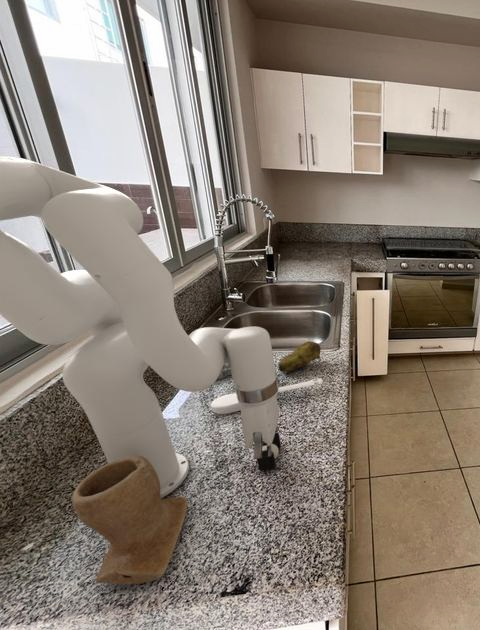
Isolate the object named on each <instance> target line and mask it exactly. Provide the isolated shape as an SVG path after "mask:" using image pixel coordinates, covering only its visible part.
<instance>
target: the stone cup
mask: <svg viewBox="0 0 480 630" xmlns="http://www.w3.org/2000/svg"><path fill="white" fill-rule="evenodd" d="M71 504H72V507H73V510H74V512H75V514H76V515H77V517H78V519H79V520H80V521H81V522H82V524H84V525H86V526H87V527H88V528H90V529H92V530H93V531H95V533H98V534H99V535H100V536H102V537H103V538H104V539H106V540H107V541H108V542H109V543H110V546H109V548H108V551H107V553H106V555H105V557H104V560H103V563H102V565H101V566H100V569H99V571H98V573H97V575H96V577H95V582H96V583H97V584H110V585H113V586H115V585H120V586H121V585H126V586H130V585H134V584H135V585H141V584H146V583H148V582H154V581H155V580H158V579H160V578H162V577H163V576H164V574H165V573H166V570H167V568H168V566H169V563H170V561H171V558H172V556H173V553H174V550H175V548H176V545H177V542H178V539H179V537H180V534H181V531H182V528H183V526H184V523H185V518H186V515H187V511H188V504H189V501H188V498H186V497H183V496H176V497H175V496H174V497H167V498H161V495H160V481H159V479H158V476H157V473H156V471H155V470H154V468H153V466H152V465H151V464H150V462H149V461H148V460H147V459H146V458H144V457H141V456H128V457H124V458H120V459H118V460H115V461H112V462H110V463H108V462H107V463H105V464H104V465H101V466H100V467H99V468H97V469H96V470H94V471H93V472H92V471H91V473H89V474H88V475H87V476H86V477H84V478H83V479H82V480H81V481H80V483H78V485H77V486H76V487H75V489H74V491H73V493H72V495H71Z"/></svg>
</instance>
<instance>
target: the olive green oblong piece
mask: <svg viewBox="0 0 480 630" xmlns="http://www.w3.org/2000/svg"><path fill="white" fill-rule="evenodd" d="M321 351H322V349H321V345H320V344H319V343H318V342H315V341H306V342H303V343H302V344H301V345H298V346H297V348H295V349H294V350H293V351H292V352H291V353H290V354H287V355H286V356H285V357H283V358H282V359H280V361H279V362H278V370H279V371H280V372H282V373H291V372H292V371H295V370H298V369H301V368H304V367H305V366H307V365H309V364H310V363H311V362H313V361H316V360H318V359H320V357H321V356H320V355H321Z"/></svg>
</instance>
